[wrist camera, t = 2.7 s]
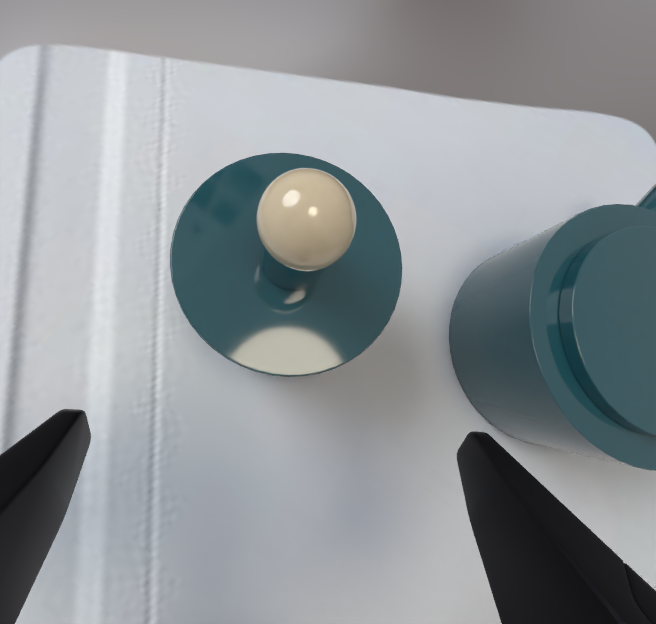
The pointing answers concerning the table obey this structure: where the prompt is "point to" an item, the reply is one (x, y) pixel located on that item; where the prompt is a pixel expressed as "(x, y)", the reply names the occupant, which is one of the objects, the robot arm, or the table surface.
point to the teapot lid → (285, 264)
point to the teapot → (567, 336)
